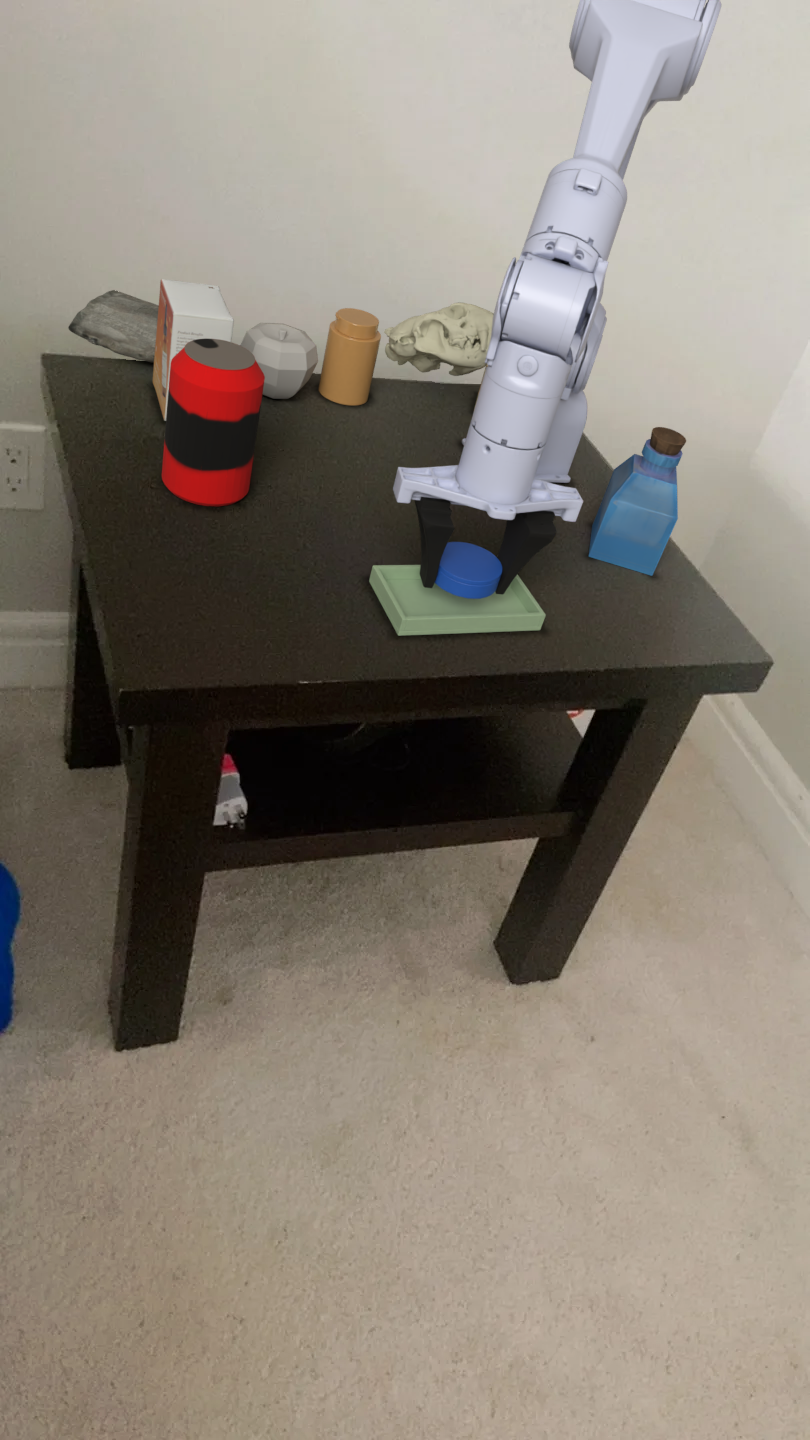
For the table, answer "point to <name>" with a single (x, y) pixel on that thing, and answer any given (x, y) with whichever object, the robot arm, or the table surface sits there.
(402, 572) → the tray
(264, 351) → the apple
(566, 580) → the table surface
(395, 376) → the table surface
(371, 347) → the jar
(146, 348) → the stone
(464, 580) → the lid
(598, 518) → the perfume bottle
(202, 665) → the table surface
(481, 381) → the rubik's cube
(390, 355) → the animal skull
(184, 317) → the small box
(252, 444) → the soda can
